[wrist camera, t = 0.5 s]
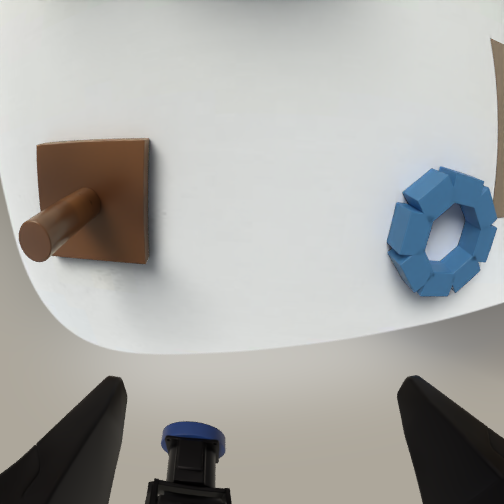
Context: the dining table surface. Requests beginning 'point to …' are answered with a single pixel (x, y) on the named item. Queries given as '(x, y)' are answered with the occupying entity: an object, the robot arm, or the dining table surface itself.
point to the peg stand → (91, 201)
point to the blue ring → (419, 226)
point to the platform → (499, 127)
